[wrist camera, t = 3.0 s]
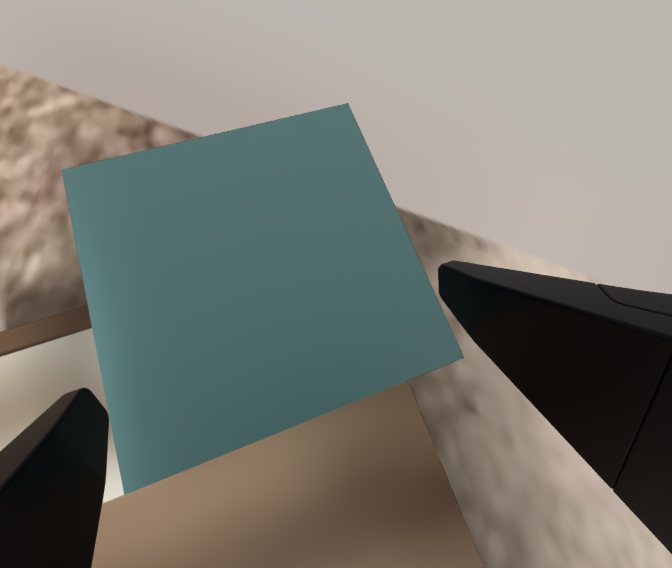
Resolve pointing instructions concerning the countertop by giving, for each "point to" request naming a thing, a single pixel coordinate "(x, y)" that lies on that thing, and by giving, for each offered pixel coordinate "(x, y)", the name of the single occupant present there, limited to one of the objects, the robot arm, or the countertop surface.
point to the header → (257, 479)
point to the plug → (246, 288)
